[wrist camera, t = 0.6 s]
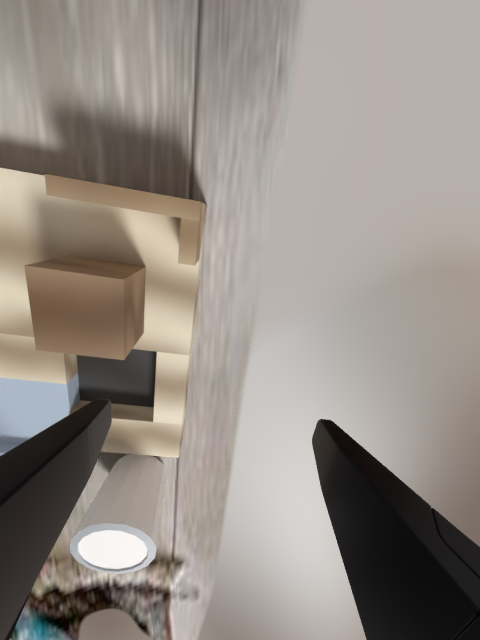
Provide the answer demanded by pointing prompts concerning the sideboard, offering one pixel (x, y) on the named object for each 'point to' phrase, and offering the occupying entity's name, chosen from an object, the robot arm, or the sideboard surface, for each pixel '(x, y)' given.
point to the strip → (32, 408)
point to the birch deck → (115, 246)
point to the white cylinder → (123, 518)
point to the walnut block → (86, 306)
